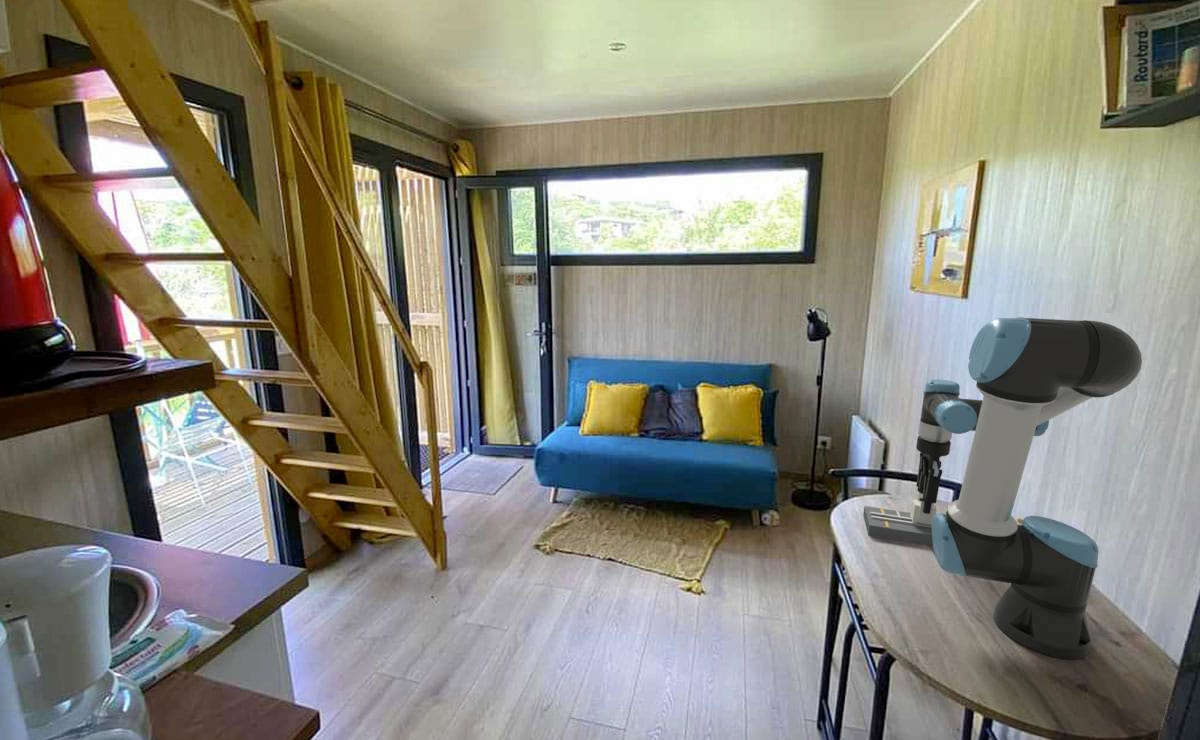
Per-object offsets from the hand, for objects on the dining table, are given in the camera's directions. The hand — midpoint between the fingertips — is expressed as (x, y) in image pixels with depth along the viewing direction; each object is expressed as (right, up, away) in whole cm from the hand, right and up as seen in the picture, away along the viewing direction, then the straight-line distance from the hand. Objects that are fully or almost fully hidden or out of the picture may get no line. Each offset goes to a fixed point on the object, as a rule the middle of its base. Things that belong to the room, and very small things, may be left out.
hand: (921, 518), depth 145 cm
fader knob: (0, -1, 0) cm, 1 cm away
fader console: (-5, -4, +3) cm, 7 cm away
